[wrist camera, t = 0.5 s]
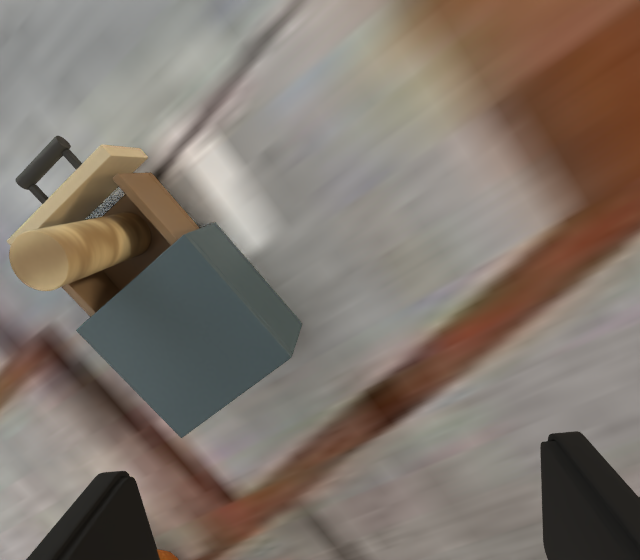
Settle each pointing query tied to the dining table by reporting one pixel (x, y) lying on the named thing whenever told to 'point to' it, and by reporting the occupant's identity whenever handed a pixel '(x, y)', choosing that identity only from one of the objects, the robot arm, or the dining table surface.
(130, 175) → the drawer
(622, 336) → the dining table surface
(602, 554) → the robot arm
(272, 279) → the dining table surface
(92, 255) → the cylinder
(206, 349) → the cabinet
